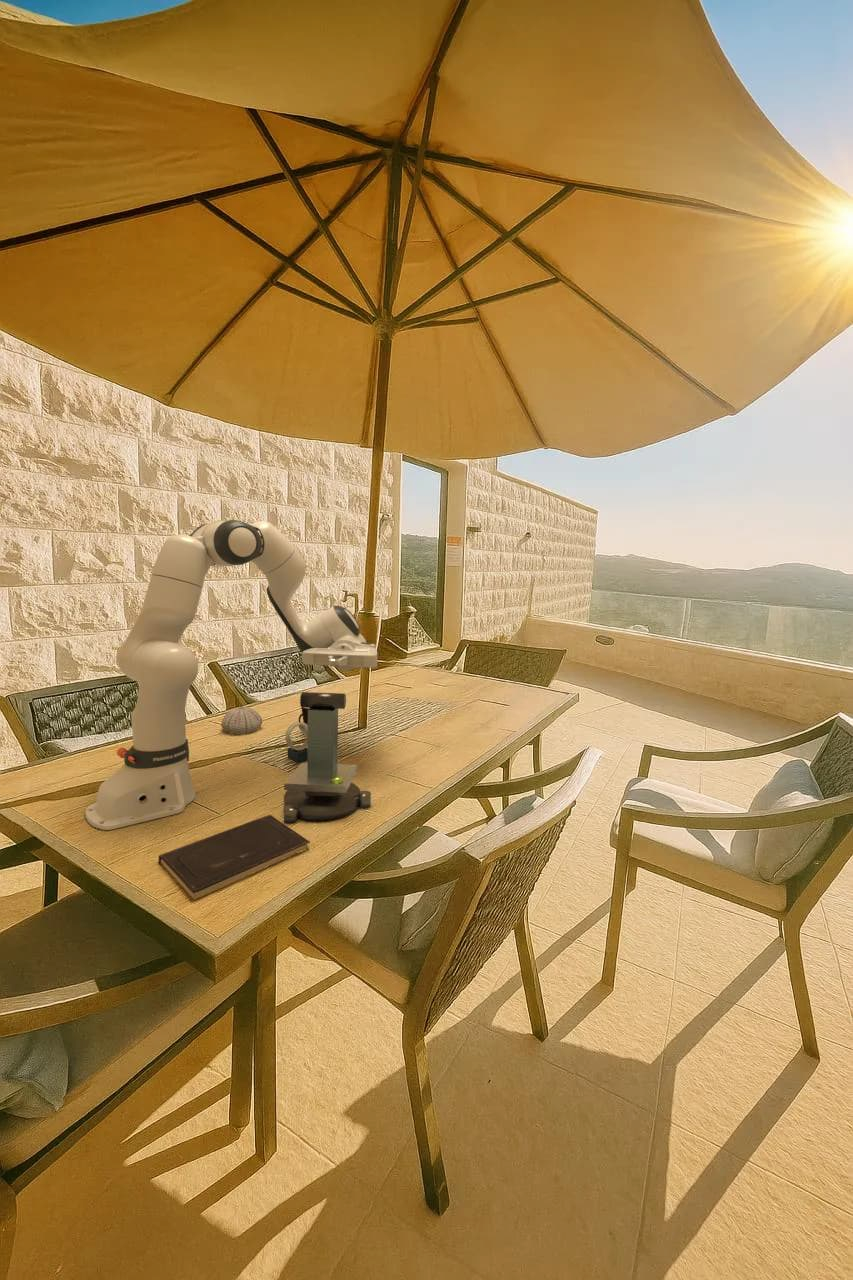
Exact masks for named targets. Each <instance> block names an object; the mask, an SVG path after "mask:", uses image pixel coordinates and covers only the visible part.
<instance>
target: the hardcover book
mask: <svg viewBox="0 0 853 1280" xmlns="http://www.w3.org/2000/svg"><path fill="white" fill-rule="evenodd" d="M308 844H310V840H308V839H307V838H305V837H303V835H301V834H299V833H298V832H297V831H295V830H293V829H292V828H290V827H289V826H287V824H286V823H284V822H282V821H280V820H279V819H277V817H274V816H273V815H271V814H267V815H265V816H262V817H259V818H257V819H254V820H251V821H248V822H246V823H243V824H241V825H238V826H235V827H233V828H229V829H227V830H224V831H222V832H219V833H216V834H213V835H211V836H207V837H205V838H203V839H199V840H197V841H194V842H191V843H188V844H186V845H183V846H181V847H177V848H175V849H172V850H169V851H167V852H164V853H162V854H159V855H158V863H159V864H161V865H163V866H164V868H165V869H166V870H167V871H168V872H169V873H170V874H171V875H172V876H173V878H174V879H175V880H176V881H177V882H178V883H179V884H180V885H181V887H182V888H183V889H184V890H185V891H186V892H187V893H188V894H189V895H190V897H191V898H192V899H193V900H197V899H199V898H201V897H203V896H205V895H208V894H210V893H212V892H215V891H217V890H219V889H222V888H224V887H226V886H229V885H231V884H232V883H233V884H234V882H237V881H240V880H241V878H242V879H244V878H246V877H248V876H250V875H249V874H251V873H253V872H255V873H257V872H259V871H261V870H260V869H262V868H264V867H266V866H268V867H270V866H269V865H271V864H273V863H275V862H277V863H279V862H281V861H280V860H282V859H284V858H286V859H288V858H290V857H289V856H291V855H293V856H294V854H295V853H297V852H299V853H301V852H300V851H302V850H304V849H306V850H308V849H309V845H308ZM307 848H308V849H307ZM304 851H305V850H304ZM302 852H303V851H302ZM297 854H298V853H297ZM295 855H296V854H295ZM287 857H288V858H287ZM291 857H292V856H291ZM284 860H285V859H284ZM278 861H279V862H278ZM282 861H283V860H282ZM275 864H276V863H275ZM273 865H274V864H273ZM271 866H272V865H271ZM266 868H267V867H266ZM264 869H265V868H264ZM258 870H259V871H258ZM262 870H263V869H262ZM256 871H257V872H256ZM253 874H254V873H253ZM247 875H248V876H247ZM251 875H252V874H251ZM245 876H246V877H245ZM243 877H244V878H243Z"/></svg>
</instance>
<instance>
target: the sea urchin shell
mask: <svg viewBox="0 0 853 1280" xmlns="http://www.w3.org/2000/svg"><path fill="white" fill-rule="evenodd" d="M262 724H263V718H262V716H261V715H260V714H259V712H258V711H257V710H255V709H254V708H252V707H248V706H237V707H233V708H231V709H230V710H228V711H227V713H225V715H224V716H223V718H222V720H221V723H220V726H221V729H223V731H225V732H226V733H230V734H234V735H244V734H250V733H254V731H255V732H256V731H257V730H259V729H261V726H262Z"/></svg>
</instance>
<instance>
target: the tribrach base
mask: <svg viewBox="0 0 853 1280" xmlns="http://www.w3.org/2000/svg"><path fill="white" fill-rule="evenodd" d="M371 805H372V793H371V791H369V790H361V789H360V787H359V786H358V785H356V784H355V783H354V782H353V781H352V782H351V784H350V786H349V788H348V790H347V792H346V793H340V792H317V791H294V790H285V792H284V795H283V824H285V825H293V823H294V824H297V823H298V822H299V821H301V822H306V823H327V822H334V821H337V820H341V819H344V818H346V816H347V817H348V816H350V815H352V814H354V813H355V812H356V811H358V810H359V809H363V810H364V809H369V808H371ZM340 818H341V819H340ZM297 821H298V822H297Z"/></svg>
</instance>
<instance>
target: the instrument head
mask: <svg viewBox="0 0 853 1280" xmlns="http://www.w3.org/2000/svg"><path fill="white" fill-rule="evenodd" d="M299 703H300V708H301V707H305V708H310V709H308V746H307V748H308V757H307V761H306V762H302V763H300V765H299V766H297V768H296V769H295V770H294V771H293V773H292V774H291V775H290V776H289V777H288V779H287V780H286V781H285V782H284V784H283V785H284V786H283V787H284V788H283V789H284V791H287V790H294V791H317V792H340V793H346V792H347V790H348V788H349V786H350V784H351V782H352V783H353V779H354V777H355V775H356V774H357V772H358V764H338V763H339V762H338V759H339V758H338V757H339V756H338V753H339V751H338V750H339V749H338V748H339V746H338V745H339V743H338V742H339V710H345V708H346V704H347V695H346V693H341V692H340V693H339V692H337V693H335V692H314V691H313V692H312V691H308V692H307V691H302V692H301V694H300V698H299Z"/></svg>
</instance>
